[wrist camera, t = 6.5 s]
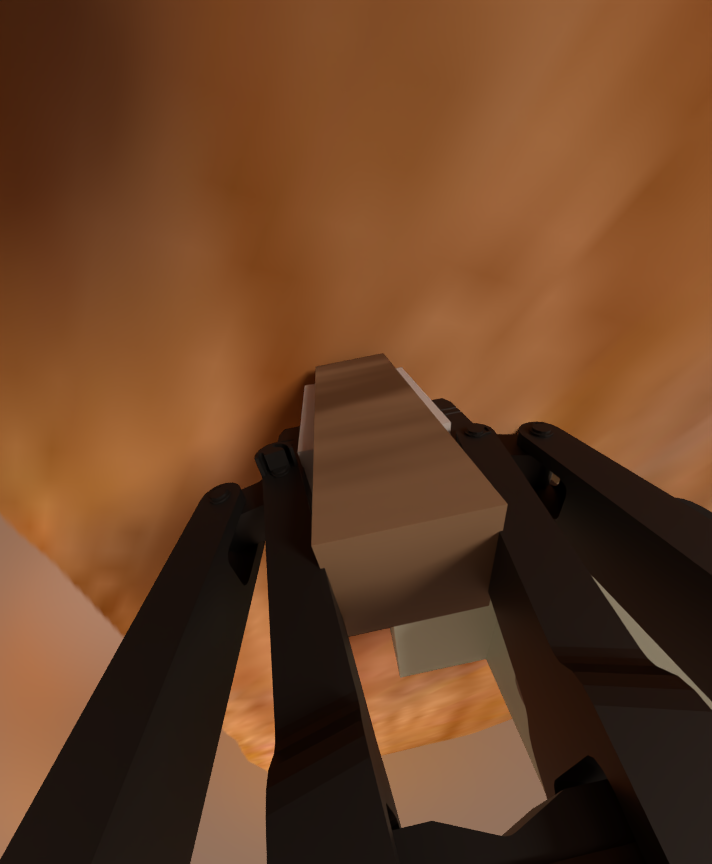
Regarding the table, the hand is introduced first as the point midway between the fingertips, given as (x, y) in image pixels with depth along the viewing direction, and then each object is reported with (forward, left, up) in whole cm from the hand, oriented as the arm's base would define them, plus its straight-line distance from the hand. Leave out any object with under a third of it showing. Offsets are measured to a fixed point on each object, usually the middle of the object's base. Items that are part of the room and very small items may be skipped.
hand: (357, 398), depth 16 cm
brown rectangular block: (+7, 0, -1) cm, 7 cm away
